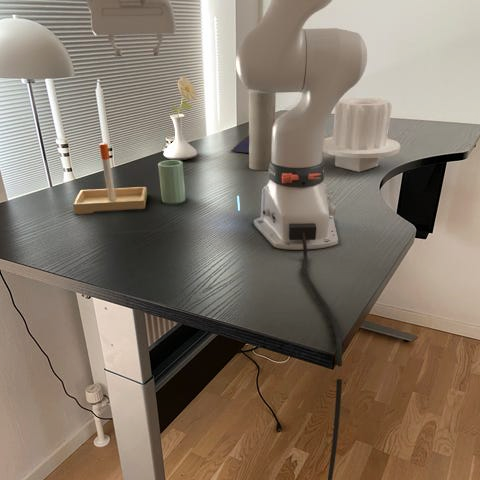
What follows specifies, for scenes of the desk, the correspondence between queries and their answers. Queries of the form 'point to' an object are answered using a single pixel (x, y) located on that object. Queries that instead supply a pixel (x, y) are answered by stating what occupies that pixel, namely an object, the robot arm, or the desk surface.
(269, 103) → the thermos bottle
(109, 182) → the marker
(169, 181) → the pen cup
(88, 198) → the tray
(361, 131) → the flanged gear
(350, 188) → the desk surface
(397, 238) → the desk surface
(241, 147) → the blue flat triangle
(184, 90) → the flower in vase
